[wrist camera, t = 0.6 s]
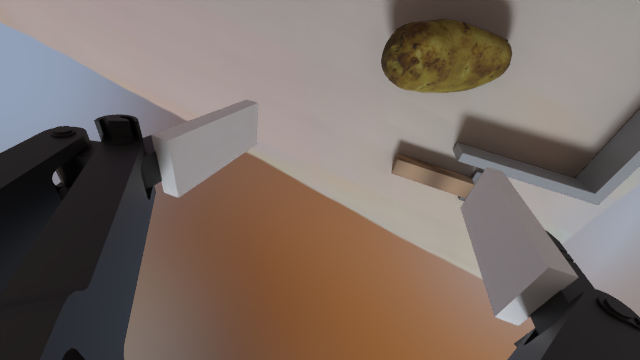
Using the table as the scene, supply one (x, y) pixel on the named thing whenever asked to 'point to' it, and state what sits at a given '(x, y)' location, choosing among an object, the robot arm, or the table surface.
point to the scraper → (435, 176)
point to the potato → (444, 56)
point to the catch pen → (590, 185)
